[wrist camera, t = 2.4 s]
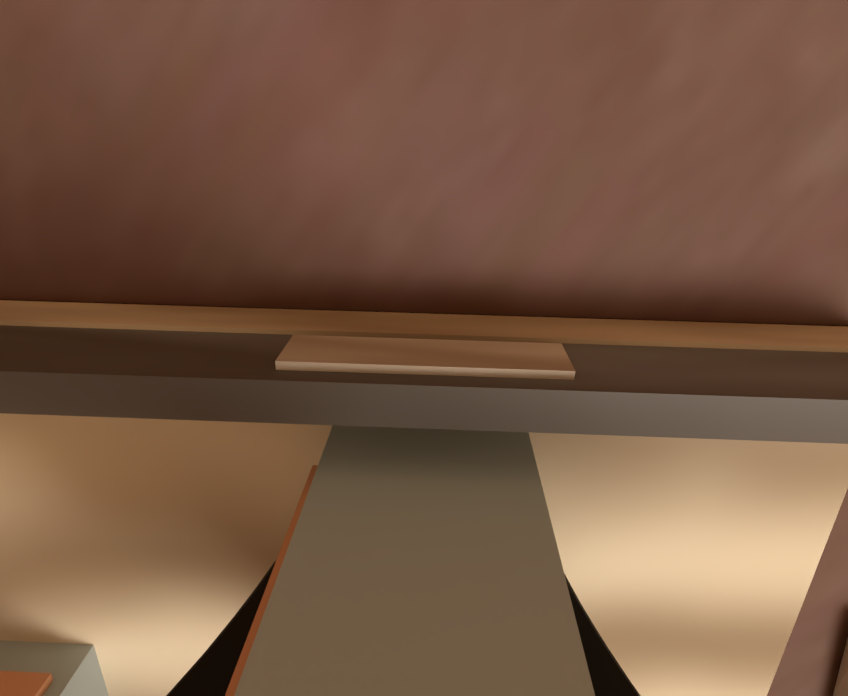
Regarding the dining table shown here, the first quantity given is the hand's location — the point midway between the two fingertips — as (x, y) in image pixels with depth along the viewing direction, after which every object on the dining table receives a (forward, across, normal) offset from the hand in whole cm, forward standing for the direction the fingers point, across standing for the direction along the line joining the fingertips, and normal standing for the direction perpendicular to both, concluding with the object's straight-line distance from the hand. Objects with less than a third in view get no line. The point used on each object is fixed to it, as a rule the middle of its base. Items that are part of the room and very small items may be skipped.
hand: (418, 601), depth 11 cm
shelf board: (+3, +3, +2) cm, 5 cm away
